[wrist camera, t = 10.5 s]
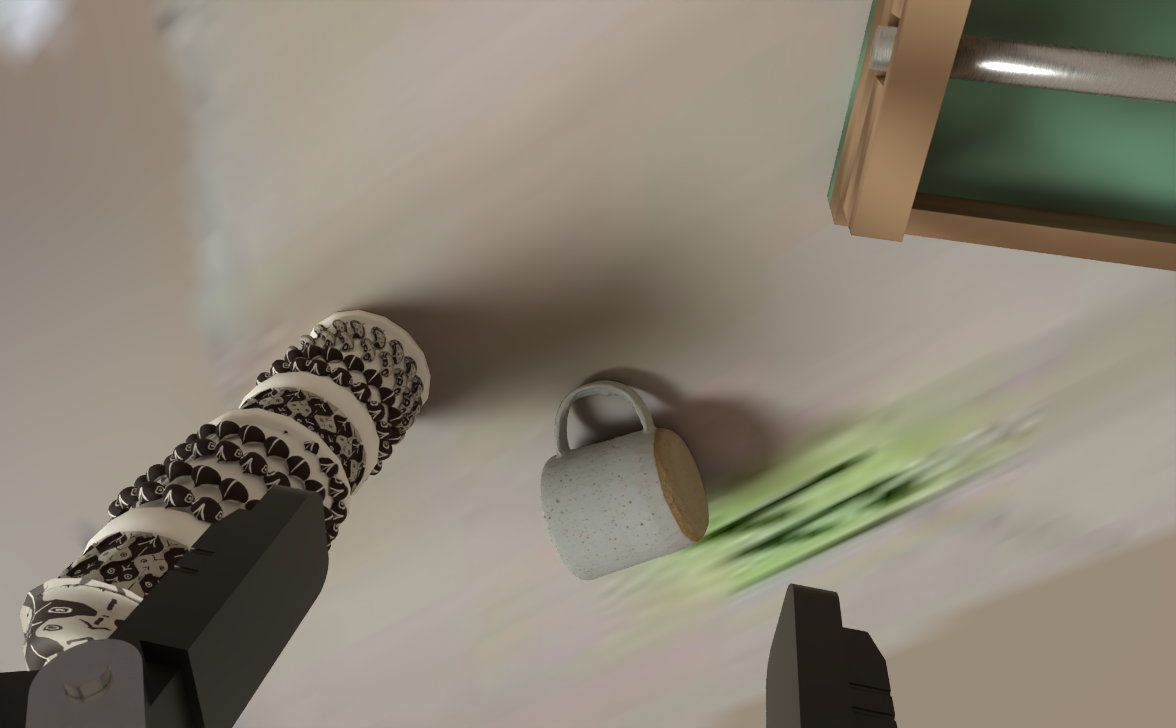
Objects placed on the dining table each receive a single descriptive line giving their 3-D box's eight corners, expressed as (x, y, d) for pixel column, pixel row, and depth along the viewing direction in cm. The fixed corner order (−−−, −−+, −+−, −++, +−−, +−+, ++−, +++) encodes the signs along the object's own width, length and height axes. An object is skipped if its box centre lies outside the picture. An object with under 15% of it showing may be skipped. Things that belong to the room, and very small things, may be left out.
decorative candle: (466, 379, 51) (251, 715, 29) (379, 454, 55) (135, 797, 33) (356, 275, 49) (36, 555, 27) (274, 361, 53) (-59, 663, 31)
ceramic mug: (719, 492, 52) (712, 574, 45) (605, 526, 54) (583, 608, 48) (647, 352, 48) (628, 419, 41) (530, 397, 51) (494, 466, 44)
